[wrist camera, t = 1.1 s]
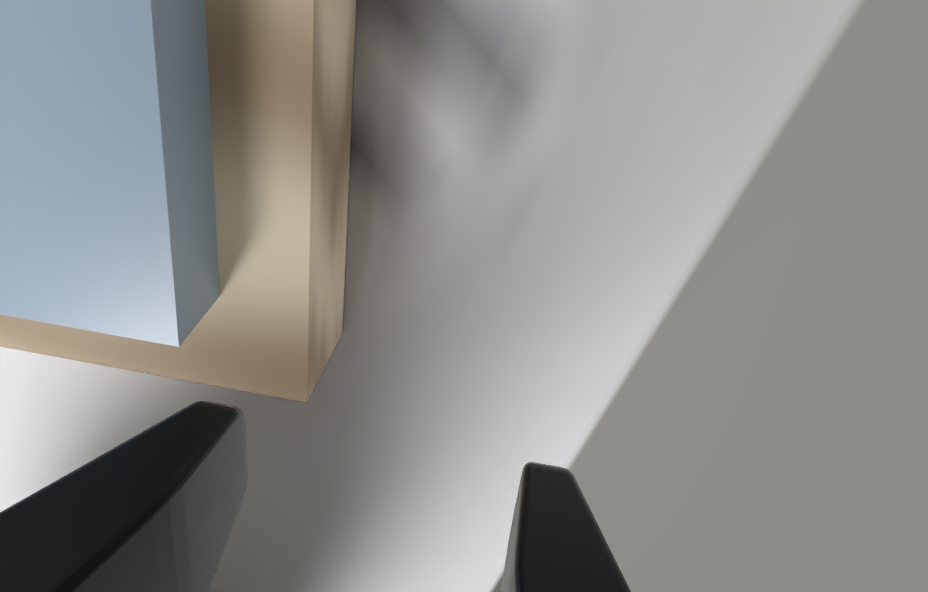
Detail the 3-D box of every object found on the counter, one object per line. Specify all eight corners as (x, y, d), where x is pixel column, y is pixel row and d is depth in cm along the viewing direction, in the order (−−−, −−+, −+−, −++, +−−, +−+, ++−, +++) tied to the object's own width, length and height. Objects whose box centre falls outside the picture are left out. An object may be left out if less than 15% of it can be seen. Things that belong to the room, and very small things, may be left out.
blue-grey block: (219, 296, 18) (178, 347, 16) (-40, 251, 18) (-106, 295, 17) (196, -178, 13) (136, -177, 12) (-150, -224, 14) (-257, -231, 12)
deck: (342, 333, 22) (307, 402, 19) (-85, 257, 22) (-174, 314, 20) (370, -327, 14) (319, -358, 12) (-259, -402, 15) (-435, -447, 13)
